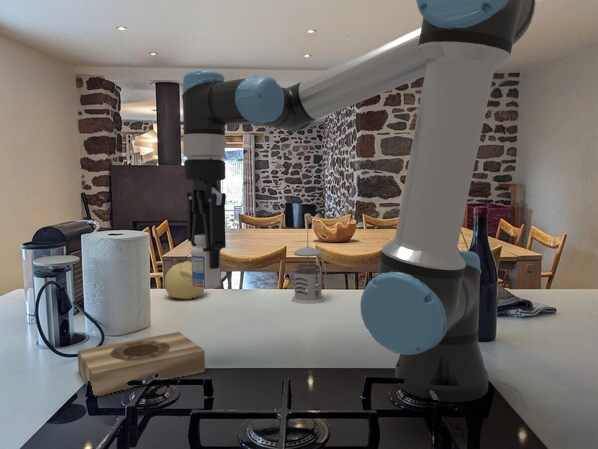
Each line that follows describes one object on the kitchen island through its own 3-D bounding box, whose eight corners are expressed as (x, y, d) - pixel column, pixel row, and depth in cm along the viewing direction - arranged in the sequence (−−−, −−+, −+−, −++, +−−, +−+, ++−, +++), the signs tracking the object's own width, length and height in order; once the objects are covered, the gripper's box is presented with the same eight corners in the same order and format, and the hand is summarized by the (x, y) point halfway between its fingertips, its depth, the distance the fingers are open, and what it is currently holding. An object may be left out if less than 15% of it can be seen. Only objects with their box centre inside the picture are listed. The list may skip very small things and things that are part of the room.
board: (204, 371, 89) (204, 350, 89) (93, 397, 79) (92, 373, 78) (179, 351, 100) (179, 331, 100) (78, 371, 89) (77, 350, 89)
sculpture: (198, 302, 139) (197, 265, 138) (158, 301, 141) (157, 264, 140) (212, 293, 150) (211, 258, 149) (175, 292, 153) (174, 257, 152)
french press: (309, 294, 149) (309, 211, 147) (336, 301, 140) (336, 213, 138) (284, 299, 143) (283, 213, 141) (310, 307, 134) (310, 215, 132)
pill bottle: (218, 282, 97) (217, 233, 96) (223, 288, 92) (223, 236, 91) (190, 284, 95) (189, 234, 94) (193, 290, 90) (193, 237, 89)
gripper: (245, 157, 85) (245, 289, 87) (205, 160, 101) (206, 272, 103) (203, 156, 81) (205, 294, 83) (169, 159, 97) (171, 275, 99)
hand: (206, 282), depth 93 cm, fingers closed on pill bottle, 5 cm apart
